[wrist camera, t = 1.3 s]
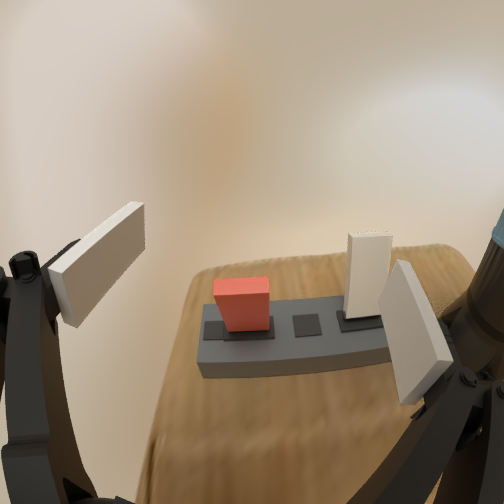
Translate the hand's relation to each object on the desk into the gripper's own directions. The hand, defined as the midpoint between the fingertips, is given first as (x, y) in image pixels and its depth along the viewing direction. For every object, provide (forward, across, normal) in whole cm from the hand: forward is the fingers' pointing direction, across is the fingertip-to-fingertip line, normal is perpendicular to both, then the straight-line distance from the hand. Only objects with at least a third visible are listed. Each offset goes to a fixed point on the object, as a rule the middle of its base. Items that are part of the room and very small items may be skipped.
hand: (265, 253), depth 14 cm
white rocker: (+15, +13, -15) cm, 25 cm away
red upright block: (+13, 0, -18) cm, 22 cm away
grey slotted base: (+15, +7, -21) cm, 26 cm away
